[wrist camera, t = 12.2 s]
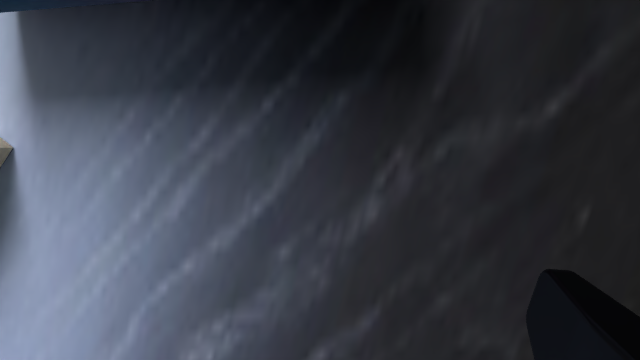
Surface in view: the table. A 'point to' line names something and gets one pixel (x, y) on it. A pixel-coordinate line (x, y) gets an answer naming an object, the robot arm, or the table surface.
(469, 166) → the table surface
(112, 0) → the cup
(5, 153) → the wooden base
